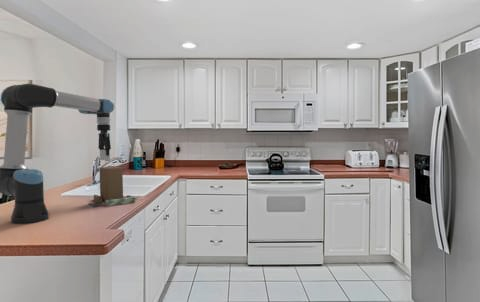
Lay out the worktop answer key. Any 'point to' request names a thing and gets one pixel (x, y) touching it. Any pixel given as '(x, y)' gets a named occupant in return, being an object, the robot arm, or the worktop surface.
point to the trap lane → (112, 201)
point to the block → (111, 183)
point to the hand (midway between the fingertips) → (104, 160)
